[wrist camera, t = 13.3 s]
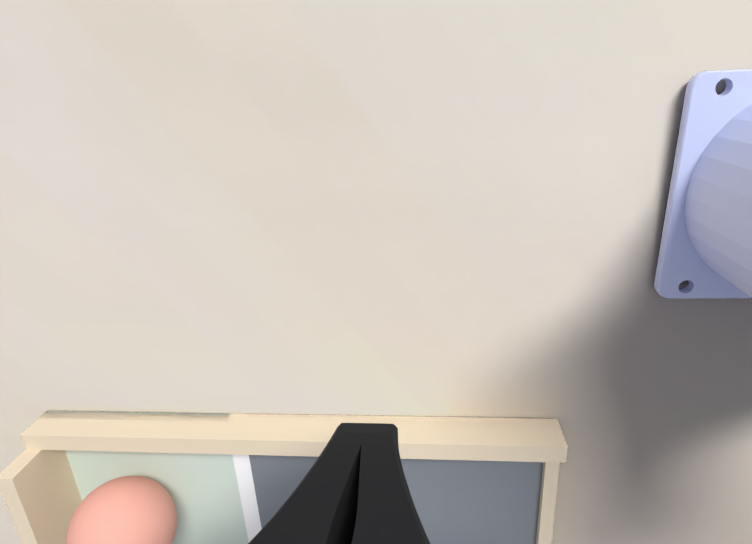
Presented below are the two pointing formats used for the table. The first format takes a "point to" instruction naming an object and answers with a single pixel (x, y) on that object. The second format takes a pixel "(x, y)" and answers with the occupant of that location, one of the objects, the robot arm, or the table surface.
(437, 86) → the table surface
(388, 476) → the robot arm
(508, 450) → the tray
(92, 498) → the ball
